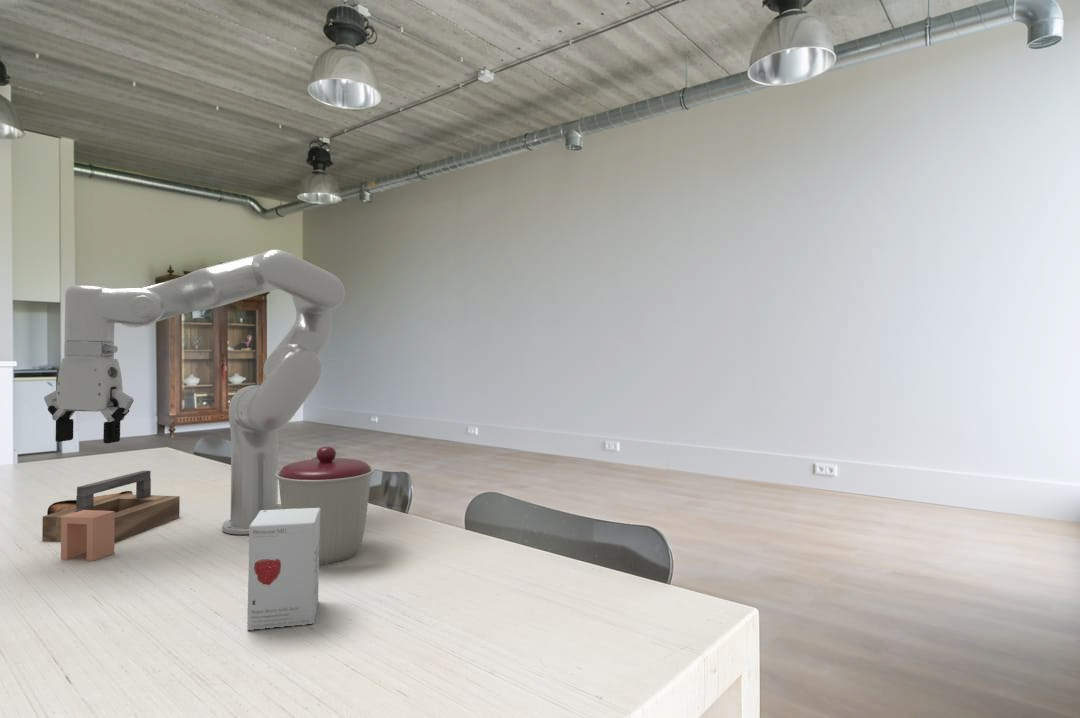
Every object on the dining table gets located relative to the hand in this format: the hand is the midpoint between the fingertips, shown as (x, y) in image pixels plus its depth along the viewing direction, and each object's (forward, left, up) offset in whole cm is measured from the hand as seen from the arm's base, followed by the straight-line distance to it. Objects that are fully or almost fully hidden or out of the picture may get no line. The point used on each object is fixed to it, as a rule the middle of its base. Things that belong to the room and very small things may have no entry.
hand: (88, 441), depth 113 cm
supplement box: (-50, +20, -22) cm, 58 cm away
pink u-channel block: (0, 0, -22) cm, 22 cm away
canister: (-44, -6, -22) cm, 50 cm away
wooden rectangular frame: (+9, -17, -22) cm, 29 cm away
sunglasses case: (+23, -29, -22) cm, 43 cm away
